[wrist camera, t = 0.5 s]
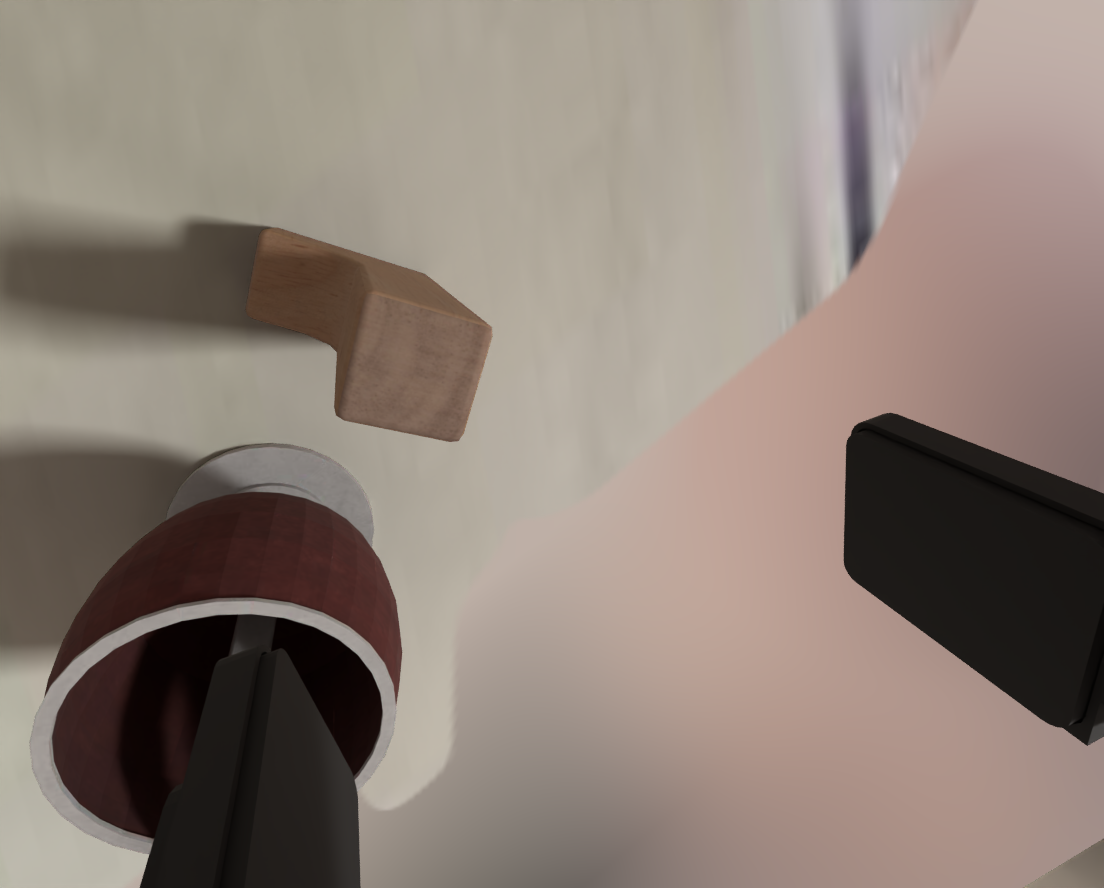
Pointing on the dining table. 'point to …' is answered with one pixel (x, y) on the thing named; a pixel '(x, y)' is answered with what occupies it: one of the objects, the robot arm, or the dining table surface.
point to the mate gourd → (219, 635)
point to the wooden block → (375, 332)
